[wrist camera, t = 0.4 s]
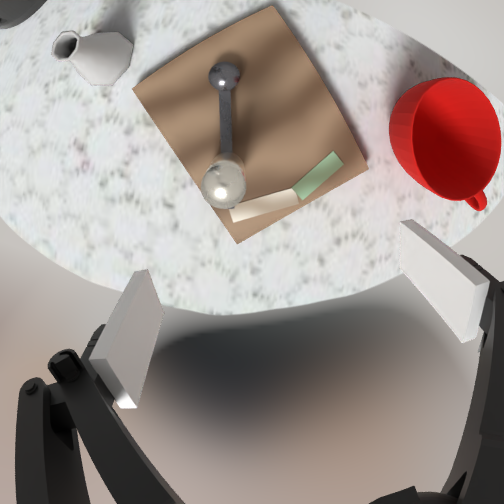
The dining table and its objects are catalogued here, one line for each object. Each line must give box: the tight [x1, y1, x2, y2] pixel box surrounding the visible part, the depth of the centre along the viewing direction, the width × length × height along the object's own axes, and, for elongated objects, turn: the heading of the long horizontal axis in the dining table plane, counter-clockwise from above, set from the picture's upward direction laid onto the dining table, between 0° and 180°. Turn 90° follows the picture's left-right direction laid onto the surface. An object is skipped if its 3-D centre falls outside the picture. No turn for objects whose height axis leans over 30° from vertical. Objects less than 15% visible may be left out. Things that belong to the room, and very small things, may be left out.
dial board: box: [132, 5, 369, 244], centre depth 33 cm, size 22×18×2 cm
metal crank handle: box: [201, 62, 246, 209], centre depth 28 cm, size 16×4×10 cm, turn 1°
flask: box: [51, 31, 133, 86], centre depth 25 cm, size 7×7×10 cm
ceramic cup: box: [389, 77, 501, 211], centre depth 30 cm, size 13×17×10 cm
